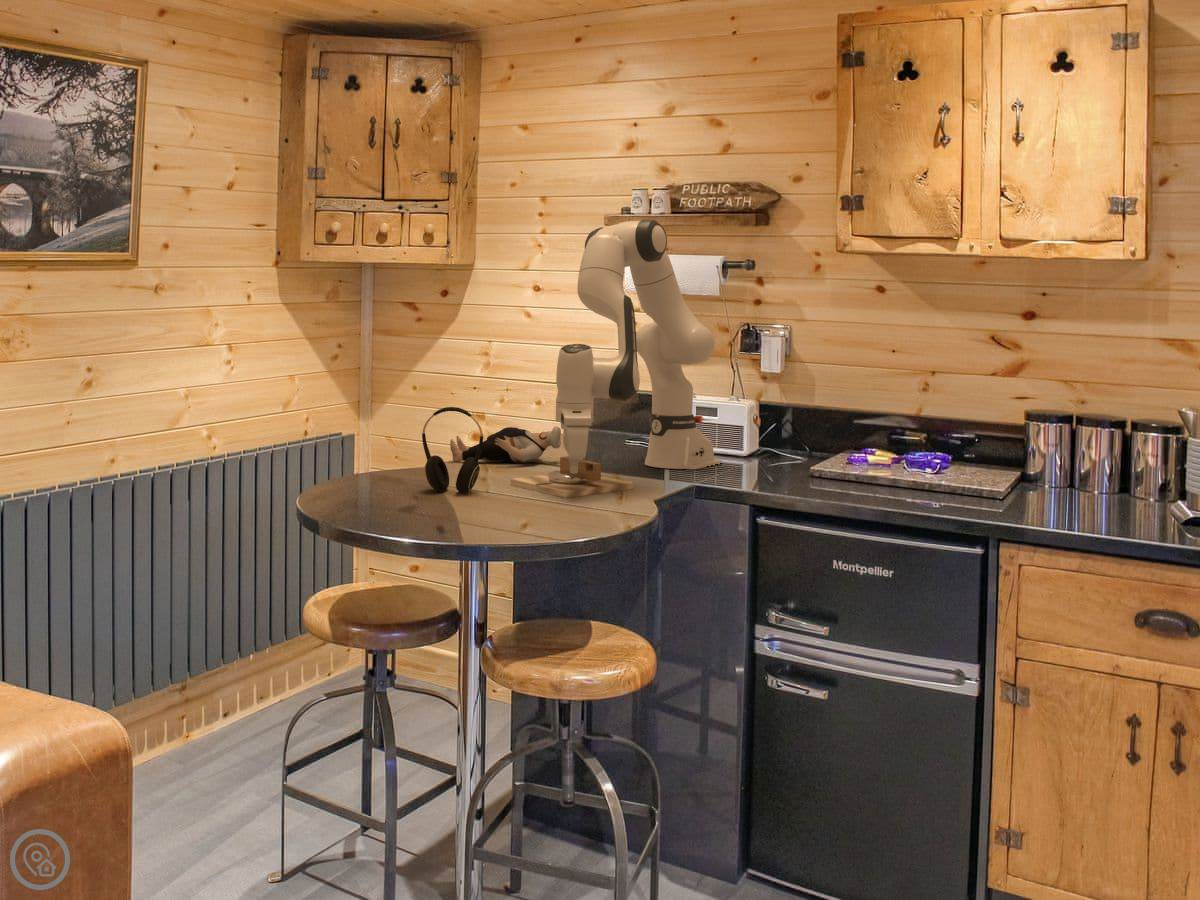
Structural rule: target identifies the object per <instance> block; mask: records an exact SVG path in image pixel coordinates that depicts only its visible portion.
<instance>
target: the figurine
mask: <svg viewBox="0 0 1200 900" xmlns="http://www.w3.org/2000/svg"><path fill="white" fill-rule="evenodd" d="M561 436H562V428H561V427H559V426H554V427H552V430H548V431H542V432H531V431H529V430H528V429H522V428H518V427H517V426H516V427H511V426H508V427H503V428H502V429H500V430H499V431H497V432H495V433H492V434H490V435H489V436H487V438H486V439H485V440H483V446H482V450H481V454H480V457H479V460H481V459H487V460H491V461H498V462H499V461H501V462H504V463H509V464H511V463H521V464H522V463H526V464H527V463H533V462H535V461H537V460H538V459H539V458H540V457H542V455H543V453H544V452H545V451H546V450H547V448H548V447H552V448H553V449H559V448H561V445H562V442H561V441H562V440H561ZM449 443H450V444H449V446H450V451H451V454H452V461H453V462H454V461H458V462H457V463H459V462H462V461H463V462H464V461H465V460H466V459H467V458H469V457H473V458H475V455H476V452H477V450H478V446H479V443H477V444H475V445H473V446H470V447H467V446H466V444H465V443H464V441H463V440H462V439H461V437H460V436H459V435H456V442H455V441H454V440H453V439H450V442H449Z"/></svg>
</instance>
